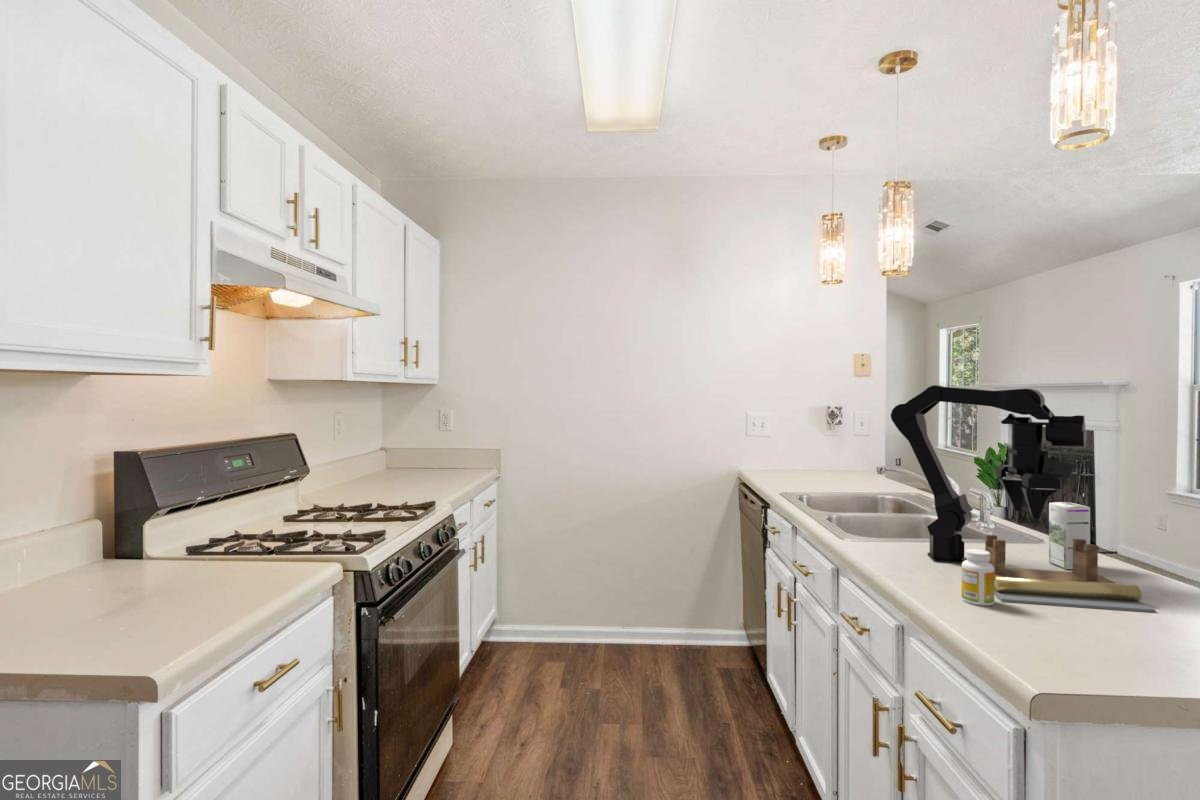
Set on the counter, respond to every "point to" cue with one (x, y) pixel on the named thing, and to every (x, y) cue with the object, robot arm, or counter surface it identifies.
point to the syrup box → (1066, 531)
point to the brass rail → (1067, 588)
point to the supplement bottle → (978, 578)
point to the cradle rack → (1082, 570)
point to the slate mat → (1073, 601)
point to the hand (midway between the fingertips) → (1026, 514)
